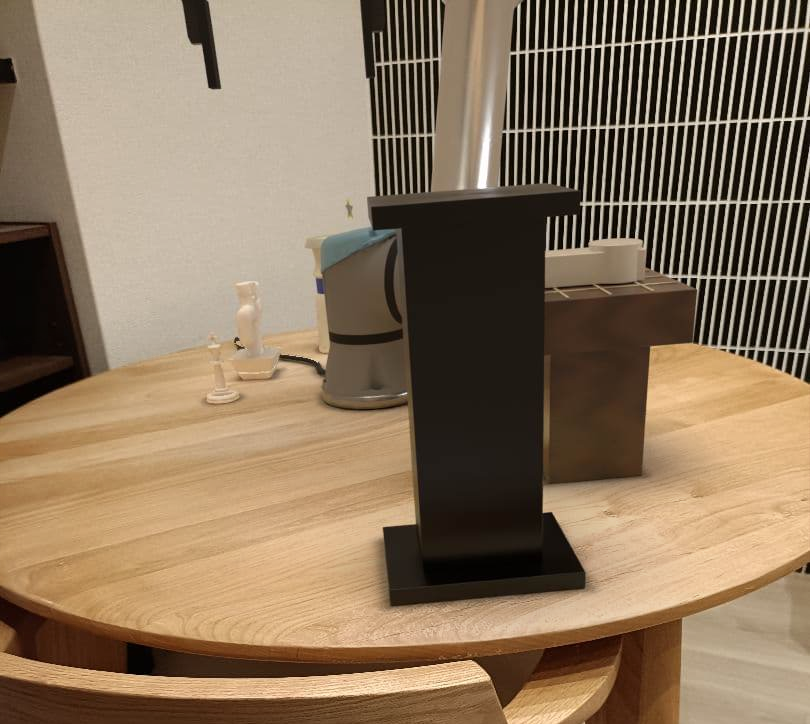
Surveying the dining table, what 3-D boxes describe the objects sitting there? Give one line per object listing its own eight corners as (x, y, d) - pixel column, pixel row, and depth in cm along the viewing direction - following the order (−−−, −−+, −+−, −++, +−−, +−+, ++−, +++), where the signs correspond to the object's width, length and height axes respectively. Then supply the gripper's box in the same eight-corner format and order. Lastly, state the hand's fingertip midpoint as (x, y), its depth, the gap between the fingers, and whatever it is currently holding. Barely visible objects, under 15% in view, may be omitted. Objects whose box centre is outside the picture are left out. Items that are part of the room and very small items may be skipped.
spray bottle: (342, 340, 154) (327, 197, 143) (372, 346, 149) (360, 197, 138) (307, 350, 149) (290, 202, 138) (338, 355, 144) (322, 202, 133)
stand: (390, 606, 66) (355, 209, 53) (383, 540, 77) (353, 197, 64) (585, 588, 67) (600, 190, 53) (551, 525, 78) (556, 181, 64)
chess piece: (209, 395, 126) (197, 330, 122) (241, 392, 126) (230, 327, 122) (204, 404, 122) (192, 337, 117) (238, 402, 122) (227, 334, 118)
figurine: (230, 384, 131) (214, 288, 125) (244, 368, 140) (230, 278, 133) (274, 382, 131) (260, 285, 124) (286, 367, 139) (274, 275, 132)
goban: (526, 497, 84) (526, 301, 75) (499, 445, 98) (497, 275, 89) (680, 484, 84) (698, 287, 76) (631, 433, 99) (641, 264, 90)
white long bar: (403, 301, 80) (400, 262, 78) (399, 292, 84) (397, 255, 83) (647, 281, 80) (650, 242, 79) (630, 273, 85) (632, 236, 83)
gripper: (77, -248, 58) (139, 91, 68) (425, -269, 59) (439, 69, 69) (104, -208, 65) (158, 95, 74) (417, -227, 66) (430, 75, 75)
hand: (293, 83), depth 71 cm, fingers open, 13 cm apart
